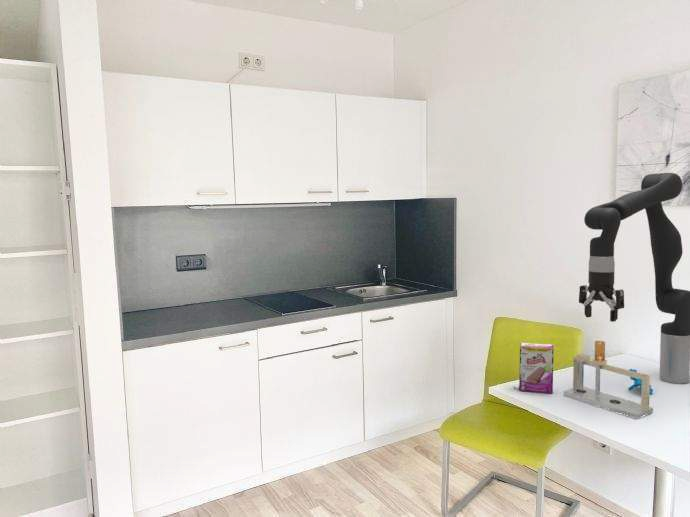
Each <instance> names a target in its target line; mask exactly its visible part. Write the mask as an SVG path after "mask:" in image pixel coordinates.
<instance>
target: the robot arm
mask: <svg viewBox="0 0 690 517" xmlns="http://www.w3.org/2000/svg"><path fill="white" fill-rule="evenodd" d="M640 184H641V185H640V186H641V187H640V190H636V191H633V192H632V191H631V192H630V193H626V194H623V195H622V196H620V197H617V198H616V199H614V200H612V201H609V202H605V203H602V204H598V205H596V206H594V207H592V208H590V209H588V210H587V212H586V213H585V215H584V224H585V226H586V227H587V228H589V229H590V230H598V231H600V230H601V234H600V235H599V236H597V237H592V238H591V239H590V241H589V258H588V259H589V260H588V285H587V284H583V285H580V286H579V293H578V303H579V304H582V305H583V306H584V313H583V314H584V316H585V318H591V317H593V316H592V314H593V312H592V307H593V306H592V304H593V303H594V301H596V302H597V301H599V302H605V304H606V305H608V307H609V309H610V312H609V316H610V317H609V321H610V322H612V323H614V322H616V321H618V319H619V318H618V316H619V310H621V309H622V310H623V309H624V308H625V290H624V289H622V288H621V289H615V288H614V286H615V266H616V263H615V242H616V239H617V235H618V232H619V229H620V225H621V221H623V220H626V219H628V218H629V217H631V216H633V215H635V214H637V213H638V212H641V211H643V210H645V213H646V217H647V223H648V230H649V237H650V238H649V239H650V247H651V254H652V259H653V261H652V262H653V267H654V268H653V269H654V281H655V282H654V286H655V287H654V288H655V303H656V304H655V305H656V306H657V307H656V308H657V309H658V311H660V312H661V313H665V314H668V315H669V314H670V315H674V320H673V321H670V322H664V323H662V324H661V325H660V344H659V345H660V346H659V350H660V351H659V379H660V380H662V381H664V382H668V383H672V384H687V383H690V290H689V289H681V288H674V286H673V282H672V281H673V280H672V278H673V272H674V271H675V269H676V268H677V265H678V264H679V262H680V260H681V259H682V257H683V254H684V253H683V244H682V237H681V233H680V230H679V229H678V228H677V227H676V226H675V225H674V224H675V223H673V222H672V221H671V219H670V218H669V217H668V215H667V214H666V213H665V210H664V208H663V204H662V203H663V202H666V201H670V200H674V199H676V198H678V196H679V195H680V194H681V192H682V189H683V180H682V179H681V176H680V175H678V174H677V173H674V172H661V173H650V174H647V175H645V176H644V177H643V178H642V180H641V183H640ZM588 293H589V294H588ZM613 295H614V296H615V298H614V296H613Z"/></svg>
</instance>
